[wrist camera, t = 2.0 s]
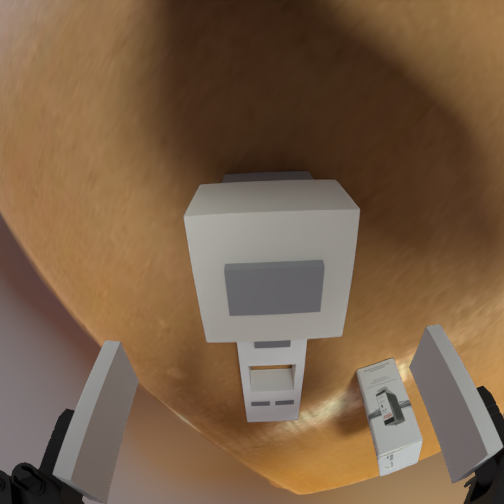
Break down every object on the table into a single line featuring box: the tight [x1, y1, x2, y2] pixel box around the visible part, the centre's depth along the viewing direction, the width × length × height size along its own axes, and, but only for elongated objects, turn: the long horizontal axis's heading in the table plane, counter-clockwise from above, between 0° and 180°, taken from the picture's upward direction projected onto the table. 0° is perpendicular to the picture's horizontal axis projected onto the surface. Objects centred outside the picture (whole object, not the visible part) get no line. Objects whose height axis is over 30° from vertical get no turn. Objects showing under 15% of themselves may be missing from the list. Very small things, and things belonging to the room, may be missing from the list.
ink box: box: [356, 358, 423, 476], centre depth 29 cm, size 9×5×12 cm, turn 21°
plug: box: [184, 180, 360, 342], centre depth 19 cm, size 8×8×8 cm
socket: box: [237, 339, 307, 422], centre depth 29 cm, size 18×6×4 cm, turn 3°
